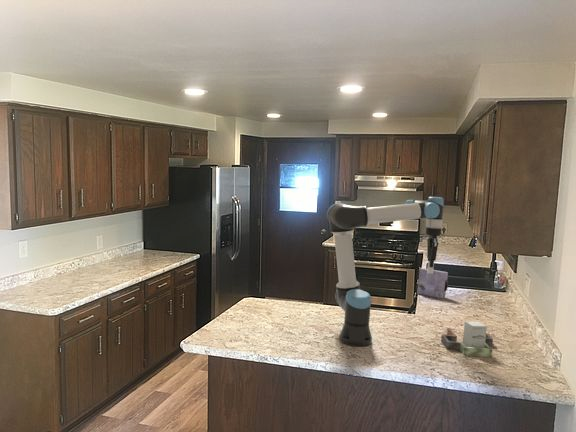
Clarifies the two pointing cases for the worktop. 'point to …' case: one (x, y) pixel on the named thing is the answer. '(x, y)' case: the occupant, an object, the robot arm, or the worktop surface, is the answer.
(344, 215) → the robot arm
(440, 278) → the cake pan box
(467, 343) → the supplement box
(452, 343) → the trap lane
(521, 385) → the worktop surface
